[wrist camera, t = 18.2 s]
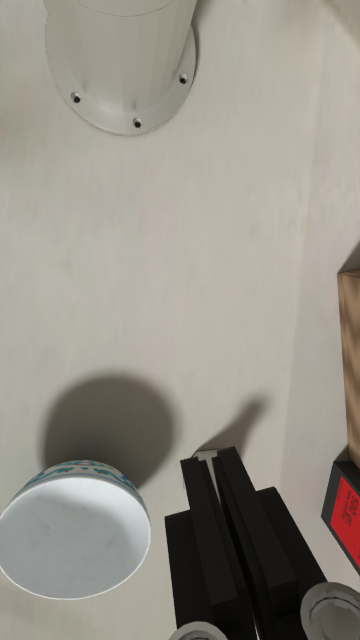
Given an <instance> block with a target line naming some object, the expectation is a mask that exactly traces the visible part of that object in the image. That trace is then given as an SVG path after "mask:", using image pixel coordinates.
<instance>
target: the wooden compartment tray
mask: <svg viewBox="0 0 360 640" xmlns="http://www.w3.org/2000/svg"><path fill="white" fill-rule="evenodd" d="M337 279H338V294H339V310H340V325H341V340H342V356H343V371H344V387H345V402H346V417H347V433H348V448H349V458H350V459H351V461H352V462H353V463H354V464H355V465H356V466H357V467H358V468H359V469H360V269H356V270H352V271H347V272H343V273H339V274H337Z"/></svg>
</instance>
